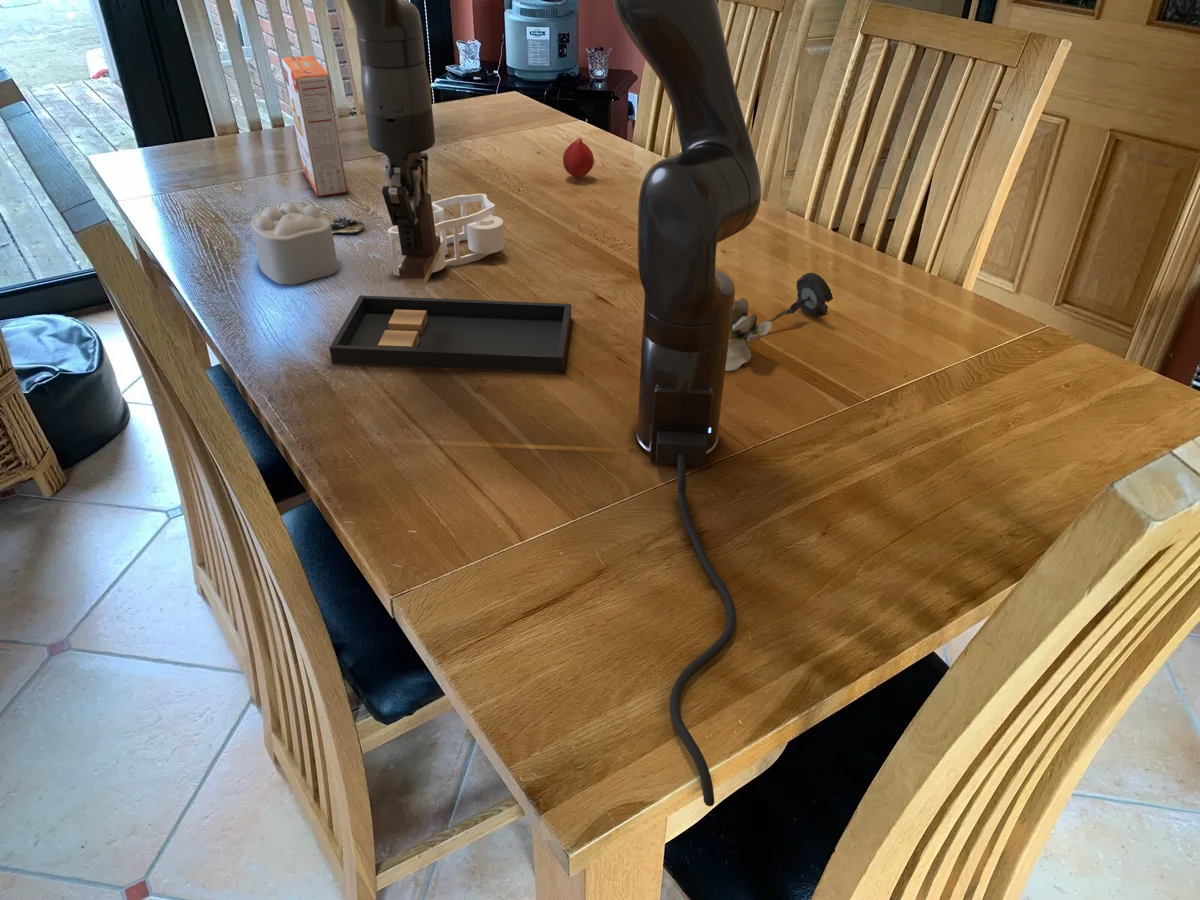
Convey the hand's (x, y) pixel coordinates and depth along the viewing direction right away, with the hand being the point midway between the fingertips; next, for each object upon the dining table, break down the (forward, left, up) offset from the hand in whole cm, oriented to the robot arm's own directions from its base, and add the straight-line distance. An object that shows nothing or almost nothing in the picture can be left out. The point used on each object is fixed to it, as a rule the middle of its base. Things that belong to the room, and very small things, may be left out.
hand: (414, 247), depth 111 cm
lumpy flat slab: (+37, +22, -14) cm, 45 cm away
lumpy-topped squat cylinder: (+23, +25, -14) cm, 37 cm away
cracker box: (+58, +31, -14) cm, 67 cm away
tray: (+1, -4, -14) cm, 15 cm away
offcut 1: (+4, +3, -13) cm, 14 cm away
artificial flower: (+5, -46, -14) cm, 48 cm away
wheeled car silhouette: (+27, +2, -14) cm, 31 cm away
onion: (+65, -16, -14) cm, 69 cm away
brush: (0, -1, -3) cm, 3 cm away
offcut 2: (-2, +3, -13) cm, 14 cm away
